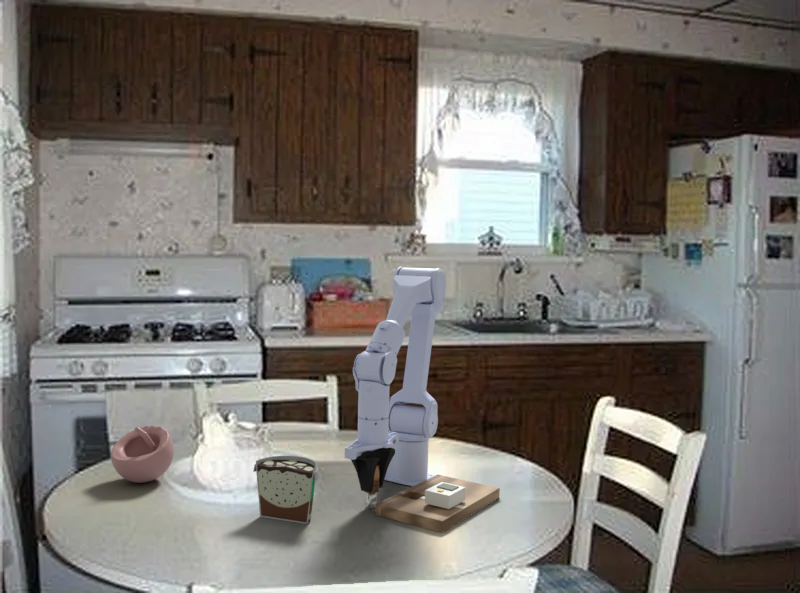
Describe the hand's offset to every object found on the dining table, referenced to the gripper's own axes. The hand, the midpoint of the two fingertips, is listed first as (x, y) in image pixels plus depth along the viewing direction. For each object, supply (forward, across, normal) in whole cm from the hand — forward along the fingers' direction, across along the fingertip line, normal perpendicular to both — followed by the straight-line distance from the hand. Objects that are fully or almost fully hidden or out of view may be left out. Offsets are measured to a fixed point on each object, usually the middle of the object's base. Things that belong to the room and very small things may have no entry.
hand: (371, 488), depth 143 cm
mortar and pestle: (+4, -16, +45) cm, 48 cm away
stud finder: (+1, +5, -13) cm, 14 cm away
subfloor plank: (+3, +8, -10) cm, 13 cm away
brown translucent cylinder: (+3, 0, 0) cm, 3 cm away
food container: (+4, -12, +9) cm, 15 cm away
